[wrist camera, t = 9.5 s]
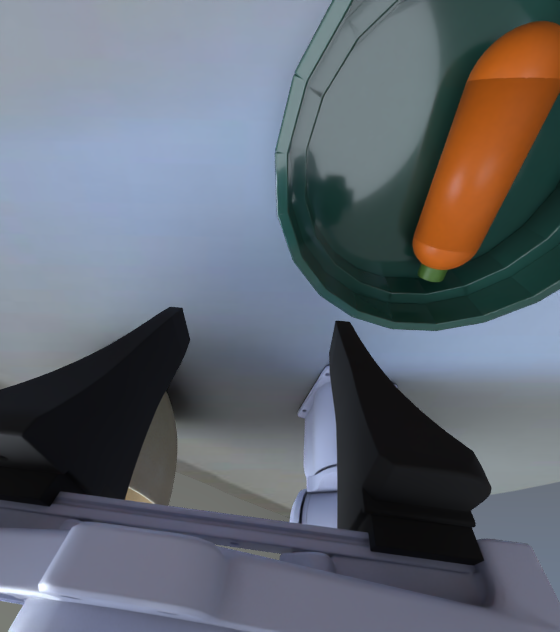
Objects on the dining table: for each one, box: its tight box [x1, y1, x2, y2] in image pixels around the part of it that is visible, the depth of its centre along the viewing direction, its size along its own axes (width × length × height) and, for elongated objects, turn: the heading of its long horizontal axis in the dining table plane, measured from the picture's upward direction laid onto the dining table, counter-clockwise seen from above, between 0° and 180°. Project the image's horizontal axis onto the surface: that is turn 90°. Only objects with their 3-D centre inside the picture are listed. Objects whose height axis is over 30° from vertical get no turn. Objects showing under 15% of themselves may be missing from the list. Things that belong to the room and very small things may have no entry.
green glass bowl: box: [275, 0, 560, 331], centre depth 14 cm, size 17×17×5 cm
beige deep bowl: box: [125, 392, 177, 506], centre depth 28 cm, size 18×18×12 cm
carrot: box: [412, 21, 560, 282], centre depth 14 cm, size 12×4×4 cm
